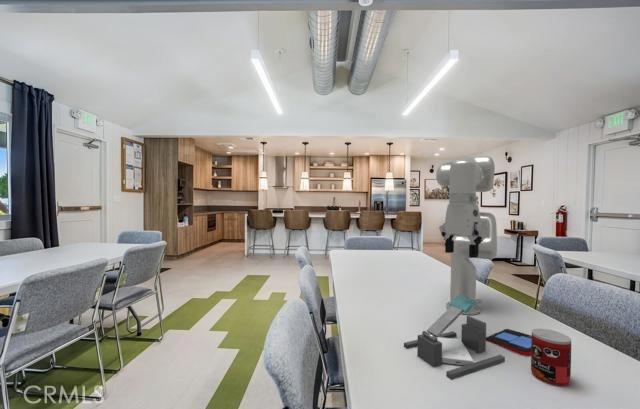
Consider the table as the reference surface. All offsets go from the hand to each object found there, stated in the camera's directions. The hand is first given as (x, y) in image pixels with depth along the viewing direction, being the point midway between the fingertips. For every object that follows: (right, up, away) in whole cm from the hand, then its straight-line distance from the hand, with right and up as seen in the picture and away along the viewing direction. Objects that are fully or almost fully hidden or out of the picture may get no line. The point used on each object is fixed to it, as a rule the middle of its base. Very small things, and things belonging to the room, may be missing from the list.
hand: (460, 254), depth 90 cm
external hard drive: (-6, -28, -7) cm, 29 cm away
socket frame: (-6, -28, -7) cm, 29 cm away
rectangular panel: (-7, -17, -7) cm, 20 cm away
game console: (+18, -29, +1) cm, 34 cm away
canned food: (+14, -29, -18) cm, 36 cm away
